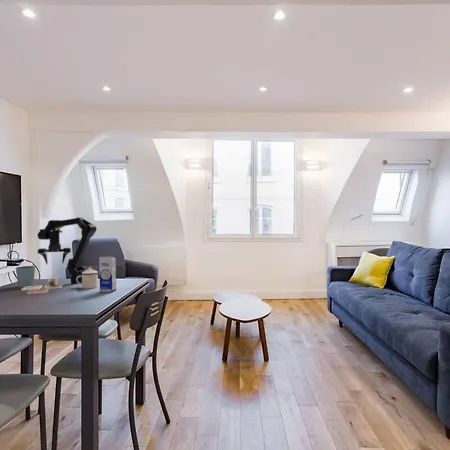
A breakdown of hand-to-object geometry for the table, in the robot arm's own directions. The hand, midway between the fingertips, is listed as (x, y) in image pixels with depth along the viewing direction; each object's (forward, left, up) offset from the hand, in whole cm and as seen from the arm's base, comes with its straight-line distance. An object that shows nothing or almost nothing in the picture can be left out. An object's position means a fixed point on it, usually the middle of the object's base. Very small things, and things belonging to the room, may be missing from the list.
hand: (54, 264), depth 220 cm
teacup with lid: (-21, +24, -12) cm, 34 cm away
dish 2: (+4, +33, -12) cm, 35 cm away
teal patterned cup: (+15, +8, -12) cm, 21 cm away
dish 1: (+9, +20, -12) cm, 25 cm away
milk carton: (-33, +40, -12) cm, 53 cm away
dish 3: (-2, +20, -12) cm, 23 cm away
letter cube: (-2, +20, -11) cm, 23 cm away
